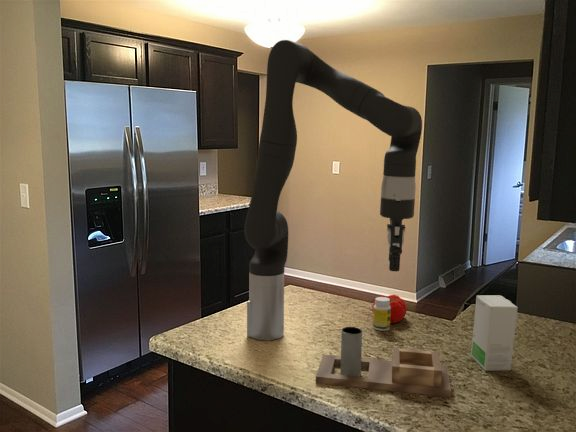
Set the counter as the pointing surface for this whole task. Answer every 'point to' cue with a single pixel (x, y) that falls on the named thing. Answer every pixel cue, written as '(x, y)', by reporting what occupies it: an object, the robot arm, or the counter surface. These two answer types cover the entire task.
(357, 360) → the grey hollow tube
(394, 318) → the tomato
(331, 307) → the counter surface
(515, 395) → the counter surface
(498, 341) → the skincare box
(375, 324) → the supplement bottle
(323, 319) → the counter surface
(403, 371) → the socket board
